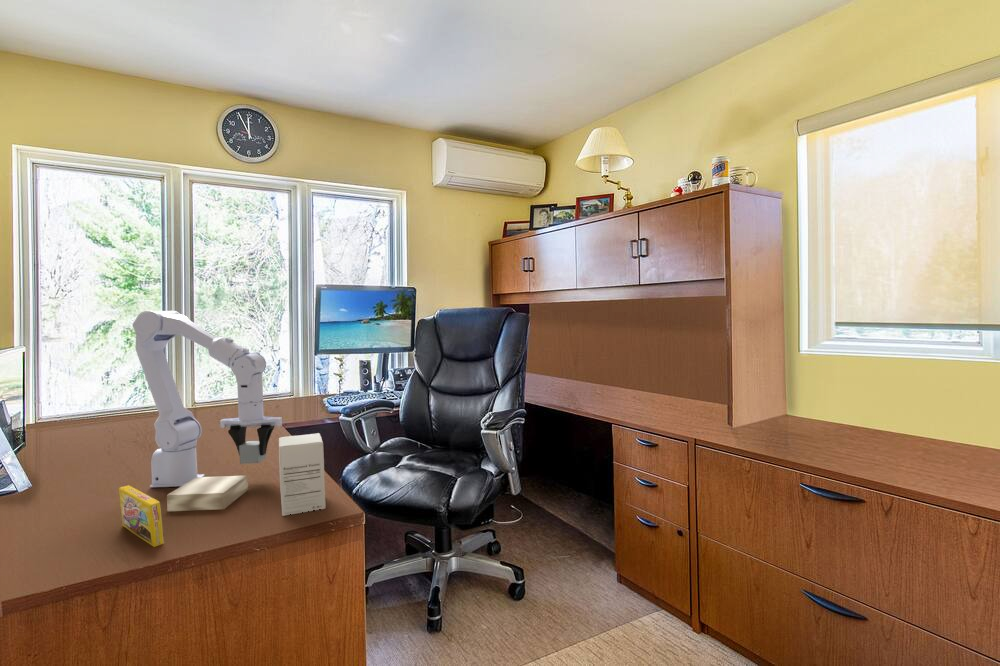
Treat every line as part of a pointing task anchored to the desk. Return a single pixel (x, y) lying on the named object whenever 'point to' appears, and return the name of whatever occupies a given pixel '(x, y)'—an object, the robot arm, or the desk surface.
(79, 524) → the desk surface
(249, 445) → the slate cube
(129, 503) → the candy box
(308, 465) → the supplement box
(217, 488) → the birch block
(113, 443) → the desk surface
